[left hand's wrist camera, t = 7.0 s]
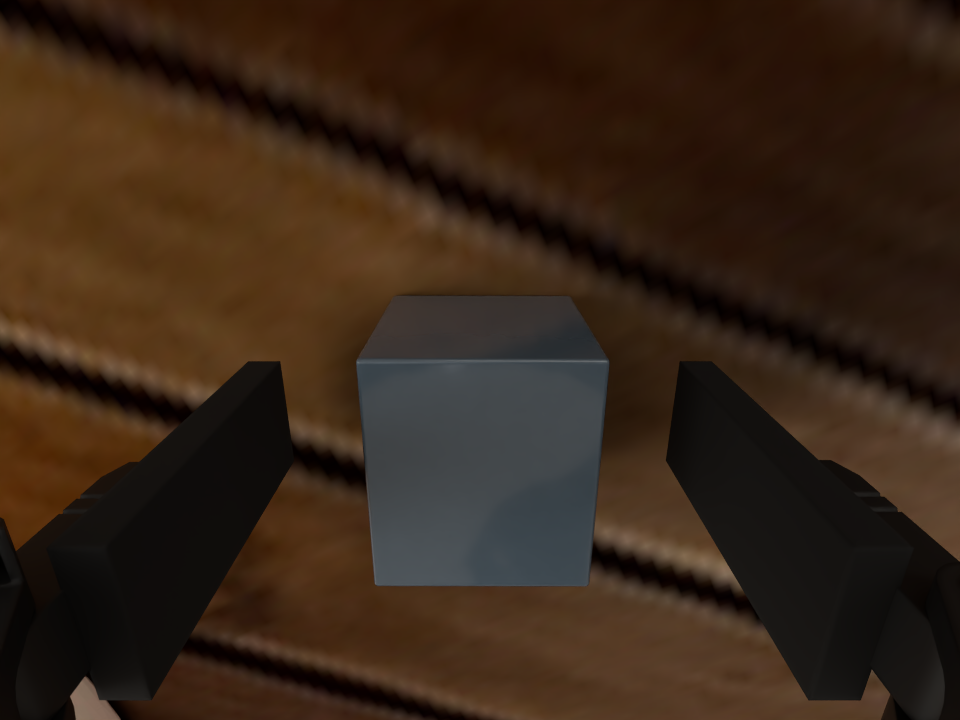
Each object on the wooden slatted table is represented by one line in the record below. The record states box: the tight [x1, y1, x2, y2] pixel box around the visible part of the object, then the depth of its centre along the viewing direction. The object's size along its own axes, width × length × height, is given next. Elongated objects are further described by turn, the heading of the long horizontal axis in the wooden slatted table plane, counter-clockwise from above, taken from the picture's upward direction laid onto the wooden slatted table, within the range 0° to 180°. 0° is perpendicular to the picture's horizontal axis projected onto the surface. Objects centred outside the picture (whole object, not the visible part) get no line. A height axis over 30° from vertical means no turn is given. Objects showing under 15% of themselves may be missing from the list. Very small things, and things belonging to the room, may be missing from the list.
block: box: [356, 296, 610, 586], centre depth 13 cm, size 4×5×5 cm
